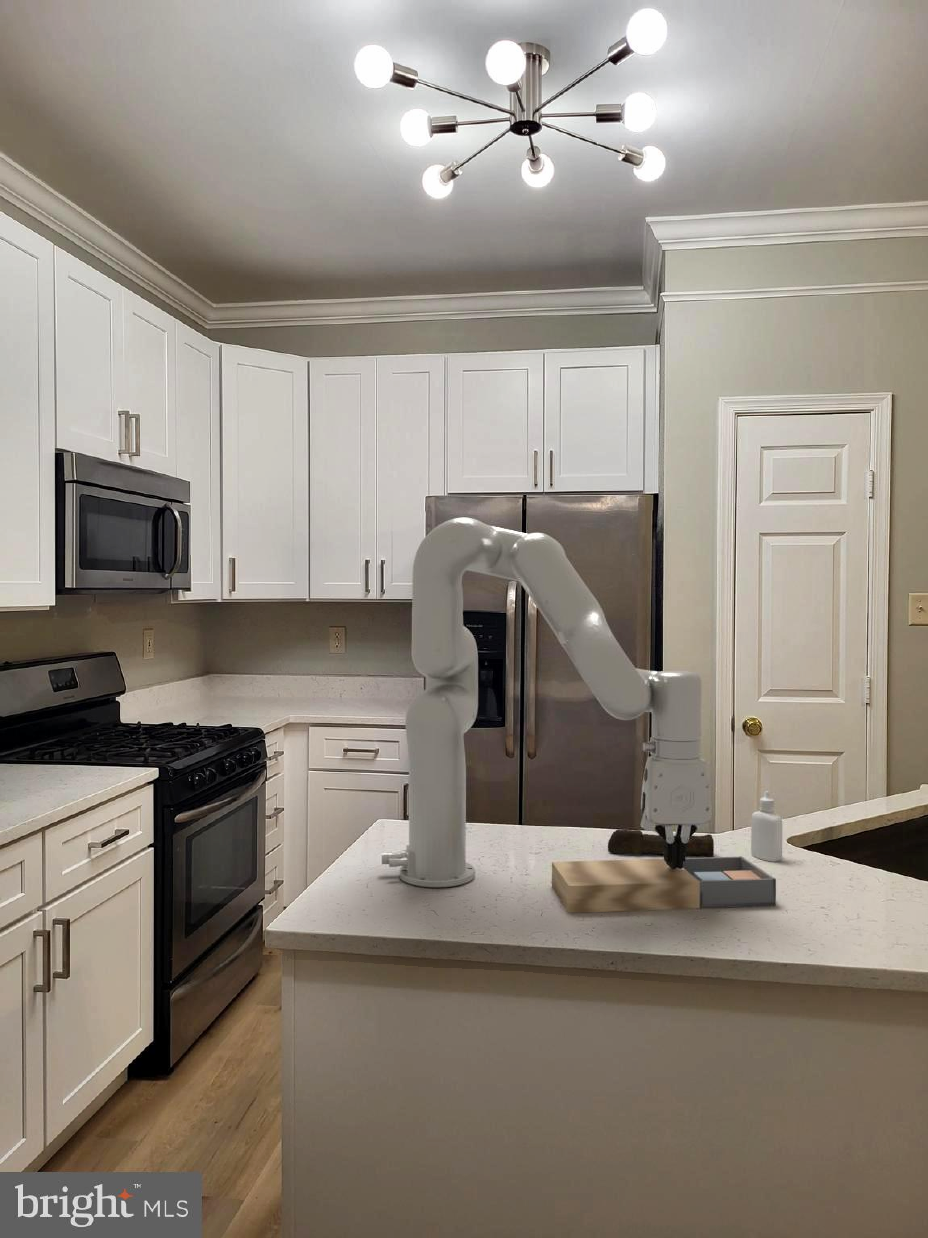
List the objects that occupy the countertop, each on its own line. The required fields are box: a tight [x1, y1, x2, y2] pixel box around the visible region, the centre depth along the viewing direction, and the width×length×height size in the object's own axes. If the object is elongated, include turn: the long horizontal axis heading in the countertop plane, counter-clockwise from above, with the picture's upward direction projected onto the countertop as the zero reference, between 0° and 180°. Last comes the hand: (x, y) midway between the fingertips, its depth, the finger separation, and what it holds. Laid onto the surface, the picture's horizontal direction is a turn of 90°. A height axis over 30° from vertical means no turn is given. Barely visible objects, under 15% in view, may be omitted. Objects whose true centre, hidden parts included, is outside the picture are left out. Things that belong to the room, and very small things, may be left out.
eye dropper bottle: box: [750, 791, 783, 863], centre depth 156 cm, size 4×6×12 cm
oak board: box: [551, 858, 701, 914], centre depth 135 cm, size 20×12×4 cm, turn 96°
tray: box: [683, 856, 777, 909], centre depth 136 cm, size 12×12×4 cm
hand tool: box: [607, 828, 715, 857], centre depth 159 cm, size 19×4×5 cm, turn 84°
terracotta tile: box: [723, 870, 761, 880], centre depth 136 cm, size 4×4×2 cm
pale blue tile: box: [694, 872, 731, 881], centre depth 136 cm, size 4×4×2 cm
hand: (674, 866), depth 136 cm, fingers closed
